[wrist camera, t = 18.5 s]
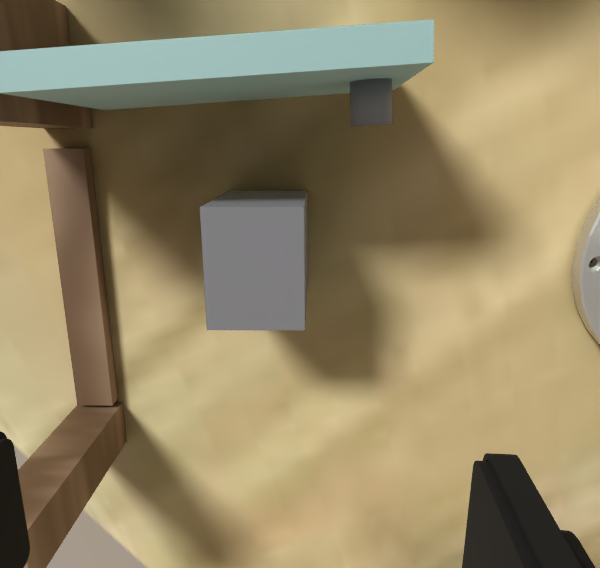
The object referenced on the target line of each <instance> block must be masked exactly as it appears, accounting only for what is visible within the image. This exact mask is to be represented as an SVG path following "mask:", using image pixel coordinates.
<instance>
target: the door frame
mask: <svg viewBox="0 0 600 568" xmlns="http://www.w3.org/2000/svg"><path fill="white" fill-rule="evenodd" d="M65 46H70V37H69V28H68V20H67V11H66V6H64V5H62V4H61V3H59V2H57V1H55V0H0V51H11V50H25V49H38V48H52V47H65ZM0 126H14V127H31V128H93V126H92V117H91V108H89V107H82V106H76V105H70V104H64V103H57V102H51V101H45V100H39V99H32V98H26V97H20V96H14V95H7V94H1V93H0ZM43 152H44V159H45V167H46V174H47V182H48V189H49V197H50V204H51V212H52V219H53V227H54V234H55V241H56V249H57V256H58V264H59V271H60V279H61V286H62V294H63V301H64V308H65V316H66V323H67V331H68V338H69V346H70V353H71V361H72V368H73V376H74V383H75V390H76V398H77V406H76V407H75V408H74V409H73V411H72V412H71V413H70V414H69V415H68V416H67V417H66V418H65V419H64V420H63V422H62V423H61V424H60V425H59V426H58V427H57V428H56V429H55V430H54V431H53V432H52V434H51V435H50V436H49V437H48V438H47V439H46V440H45V441H44V442H43V443H42V445H41V446H40V447H39V448H38V449H37V450H36V451H35V452H34V453H33V454H32V456H31V457H30V458H29V459H28V460H27V461H26V462H25V463H24V464H23V465H22V467H21V468H20V469H19V470H18V475H19V481H20V487H21V493H22V500H23V506H24V512H25V518H26V524H27V530H28V536H29V542H30V554H29V558H28V560H27V563H26V565H25V566H24V568H46V567H47V565H48V564H49V562H50V561H51V559H52V557H53V556H54V554H55V553H56V551H57V549H58V548H59V546H60V545H61V543H62V542H63V540H64V539H65V537H66V535H67V534H68V532H69V531H70V529H71V528H72V526H73V524H74V523H75V521H76V520H77V518H78V517H79V515H80V513H81V512H82V510H83V509H84V507H85V506H86V504H87V502H88V501H89V499H90V498H91V496H92V494H93V493H94V491H95V490H96V488H97V487H98V485H99V483H100V482H101V480H102V479H103V477H104V476H105V474H106V472H107V471H108V469H109V468H110V466H111V465H112V463H113V461H114V460H115V458H116V457H117V455H118V454H119V452H120V450H121V449H122V447H123V446H124V444H125V443H126V441H127V440H126V431H125V421H124V412H123V403H115V402H116V400H117V399H118V396H117V387H116V378H115V369H114V360H113V351H112V342H111V333H110V324H109V315H108V306H107V297H106V288H105V279H104V270H103V261H102V252H101V243H100V234H99V225H98V215H97V206H96V197H95V188H94V179H93V170H92V161H91V152H90V149H43Z"/></svg>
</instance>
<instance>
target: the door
mask: <svg viewBox="0 0 600 568" xmlns="http://www.w3.org/2000/svg"><path fill="white" fill-rule="evenodd" d="M433 62H434V19H431V20H417V21H404V22H390V23H377V24H363V25H350V26H336V27H322V28H309V29H295V30H282V31H268V32H255V33H241V34H228V35H214V36H201V37H187V38H174V39H160V40H146V41H133V42H119V43H106V44H92V45H79V46H65V47H52V48H38V49H25V50H11V51H0V93H1V94H7V95H14V96H20V97H26V98H32V99H39V100H45V101H51V102H57V103H64V104H70V105H76V106H82V107H89V108H95V109H101V110H112V109H127V108H142V107H156V106H171V105H186V104H201V103H215V102H230V101H245V100H259V99H274V98H289V97H303V96H318V95H333V94H348V93H350V107H351V126H372V125H385V124H393V122H392V90H394V89H396V88H397V87H399V86H400V85H402V84H403V83H404V82H406V81H407V80H409V79H410V78H412V77H413V76H415V75H416V74H418V73H419V72H420V71H422V70H423V69H425V68H426V67H428V66H429V65H431V64H432V63H433Z"/></svg>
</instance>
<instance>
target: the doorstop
mask: <svg viewBox="0 0 600 568" xmlns="http://www.w3.org/2000/svg"><path fill="white" fill-rule="evenodd" d="M200 221H201V238H202V255H203V272H204V289H205V307H206V324H207V330H305V317H306V299H307V190H293V191H228V192H226V193H224V194H222V195H221V196H219V197H217V198H215V199H213V200H212V201H210V202H208V203H206V204H204V205H203V206H201V207H200Z"/></svg>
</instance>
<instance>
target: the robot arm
mask: <svg viewBox="0 0 600 568" xmlns="http://www.w3.org/2000/svg"><path fill="white" fill-rule="evenodd" d="M592 259H593V262H592V263H591V264H590V265H589V263H590V261H591V260H592ZM572 288H573V293H574V297H575V302H576V306H577V310H578V312H579V314H580V316H581V318H582V321H583V323H584V325H585V327H586V329H587V330H588V331H589V332H590V334H591V335H592V336H593V337H594V339H595V340H596V341H597V343H598V344H599V345H600V198H599V199H598V201H597V203H596V204H595V206H594V208H593V209H592V211H591V213H590V214H589V216H588V218H587V219H586V221H585V223H584V226H583V228H582V231H581V234H580V236H579V239H578V241H577V244H576V249H575V255H574V260H573V265H572ZM29 554H30V542H29V536H28V530H27V524H26V518H25V512H24V506H23V500H22V493H21V487H20V481H19V475H18V469H17V464H16V457H15V451H14V446H13V443H12V441H11V440H9V439H7V437H6V435H5V434H4V433H3V432H0V568H24V566H25V565H26V563H27V560H28V558H29ZM462 568H595V566H594V565H593V563H592V561H591V560H590V558H589V556H588V555H587V553H586V551H585V550H584V548H583V546H582V545H581V543H580V541H579V540H578V539H577V537H576V536H575V535H574V534H573V533H572V532H570V531H565V530H560V529H559V527H558V525H557V524H556V522H555V520H554V518H553V517H552V515H551V513H550V511H549V510H548V508H547V506H546V504H545V503H544V501H543V499H542V497H541V496H540V494H539V492H538V490H537V489H536V487H535V485H534V483H533V482H532V480H531V478H530V476H529V475H528V473H527V471H526V469H525V468H524V466H523V464H522V462H521V461H520V459H519V458H518V456H517V455H509V454H487V453H486V454H485V455H484V458H483V461H475V462H474V465H473V473H472V482H471V491H470V500H469V509H468V519H467V528H466V537H465V546H464V555H463V564H462Z"/></svg>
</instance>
